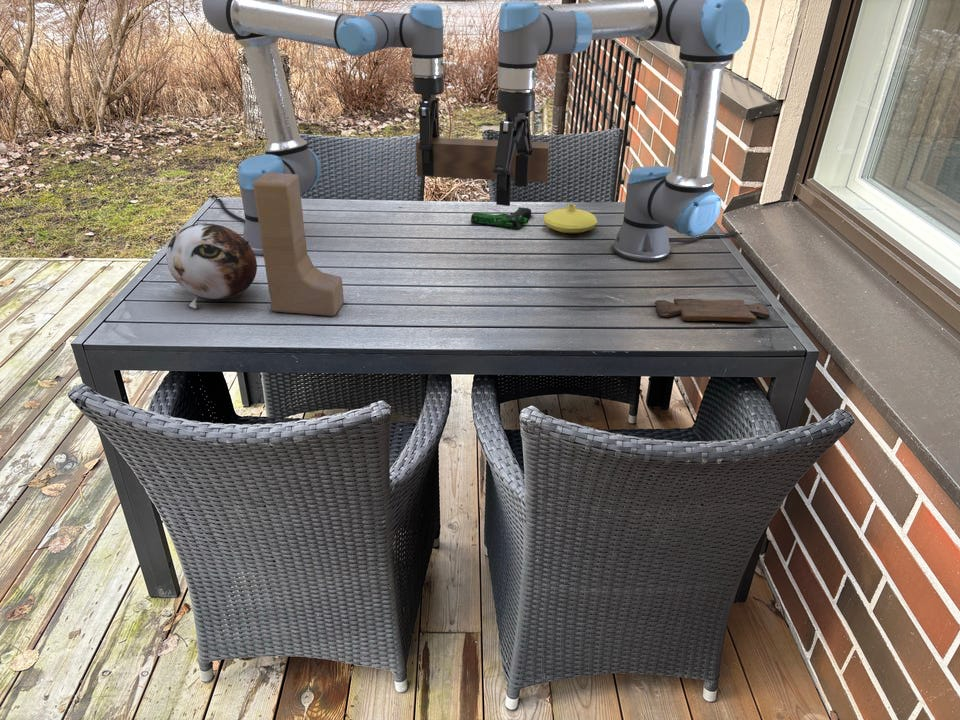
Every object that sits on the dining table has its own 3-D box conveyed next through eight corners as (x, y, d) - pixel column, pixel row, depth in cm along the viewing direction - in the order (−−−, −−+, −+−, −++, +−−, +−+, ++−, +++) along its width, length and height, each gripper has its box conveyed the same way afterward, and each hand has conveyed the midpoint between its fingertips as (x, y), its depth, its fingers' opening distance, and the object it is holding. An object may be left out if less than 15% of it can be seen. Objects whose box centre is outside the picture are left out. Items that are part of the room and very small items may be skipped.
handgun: (537, 208, 218) (520, 221, 206) (536, 217, 220) (520, 231, 208) (488, 201, 224) (469, 214, 212) (488, 211, 225) (469, 224, 213)
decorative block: (334, 317, 160) (321, 185, 145) (271, 312, 162) (251, 181, 147) (344, 302, 167) (333, 175, 151) (283, 298, 168) (265, 171, 153)
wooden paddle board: (775, 325, 161) (761, 305, 169) (777, 318, 160) (763, 299, 168) (660, 321, 161) (652, 301, 169) (661, 314, 160) (653, 295, 169)
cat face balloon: (130, 285, 161) (164, 203, 163) (192, 308, 177) (221, 233, 178) (195, 307, 151) (229, 220, 152) (254, 330, 166) (285, 250, 168)
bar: (417, 176, 182) (415, 142, 178) (421, 169, 187) (420, 136, 183) (546, 182, 178) (548, 148, 174) (547, 175, 183) (549, 142, 179)
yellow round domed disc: (559, 216, 220) (561, 193, 217) (605, 227, 212) (608, 204, 209) (532, 230, 209) (533, 207, 206) (580, 242, 201) (582, 218, 198)
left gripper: (436, 83, 164) (438, 182, 175) (450, 70, 180) (451, 162, 192) (404, 82, 164) (408, 181, 176) (421, 69, 181) (423, 160, 192)
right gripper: (517, 102, 129) (513, 215, 140) (549, 80, 149) (543, 180, 160) (478, 99, 131) (476, 211, 142) (515, 77, 151) (511, 177, 162)
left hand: (430, 171), depth 184 cm, fingers closed on bar, 6 cm apart
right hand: (512, 195), depth 151 cm, fingers open, 13 cm apart
